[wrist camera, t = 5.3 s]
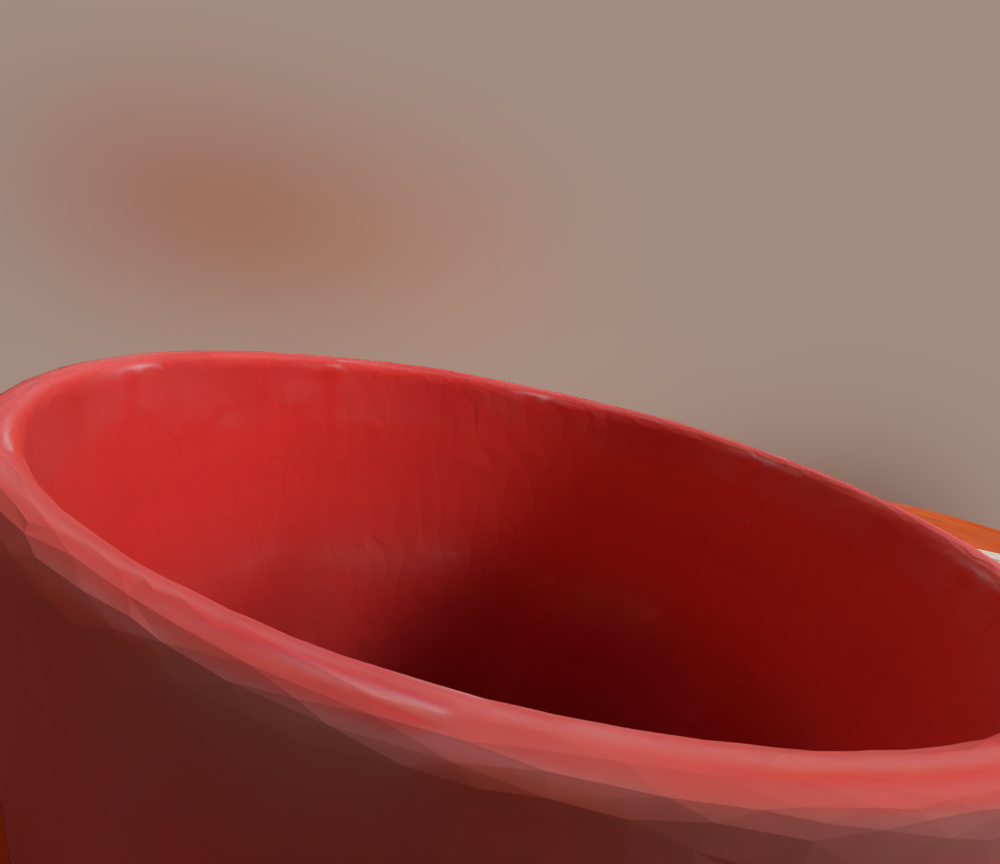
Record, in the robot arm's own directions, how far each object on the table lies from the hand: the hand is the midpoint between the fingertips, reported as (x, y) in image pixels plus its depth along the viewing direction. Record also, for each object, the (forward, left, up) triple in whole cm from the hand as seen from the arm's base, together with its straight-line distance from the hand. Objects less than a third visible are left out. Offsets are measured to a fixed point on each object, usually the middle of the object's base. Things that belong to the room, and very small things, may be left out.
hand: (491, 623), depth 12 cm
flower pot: (+1, +3, -6) cm, 7 cm away
